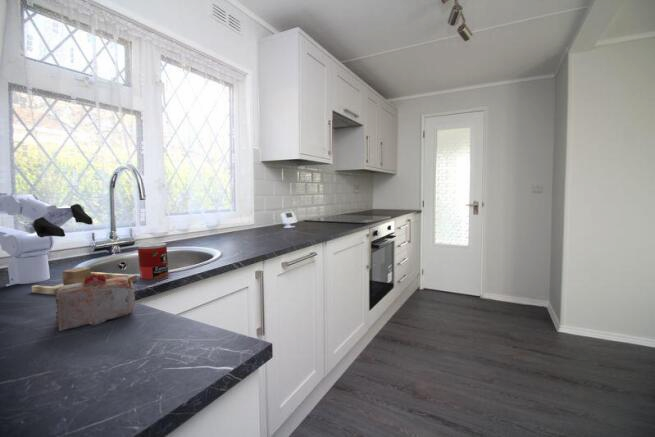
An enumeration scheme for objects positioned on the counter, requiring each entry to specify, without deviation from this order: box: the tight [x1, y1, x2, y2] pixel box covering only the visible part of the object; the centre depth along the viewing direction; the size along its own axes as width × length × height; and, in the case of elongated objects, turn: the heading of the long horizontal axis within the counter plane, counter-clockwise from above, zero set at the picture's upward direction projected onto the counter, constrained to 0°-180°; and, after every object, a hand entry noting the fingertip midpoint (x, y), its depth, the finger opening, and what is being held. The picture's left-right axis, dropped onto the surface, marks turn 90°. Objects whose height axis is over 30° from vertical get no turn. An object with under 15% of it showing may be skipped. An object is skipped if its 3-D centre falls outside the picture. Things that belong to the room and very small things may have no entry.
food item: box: [54, 275, 136, 332], centre depth 68 cm, size 14×8×10 cm, turn 131°
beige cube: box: [61, 266, 92, 285], centre depth 90 cm, size 4×4×4 cm
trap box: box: [31, 271, 138, 296], centre depth 89 cm, size 19×15×3 cm
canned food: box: [137, 241, 169, 283], centre depth 98 cm, size 8×8×11 cm
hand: (77, 227), depth 89 cm, fingers open, 7 cm apart
